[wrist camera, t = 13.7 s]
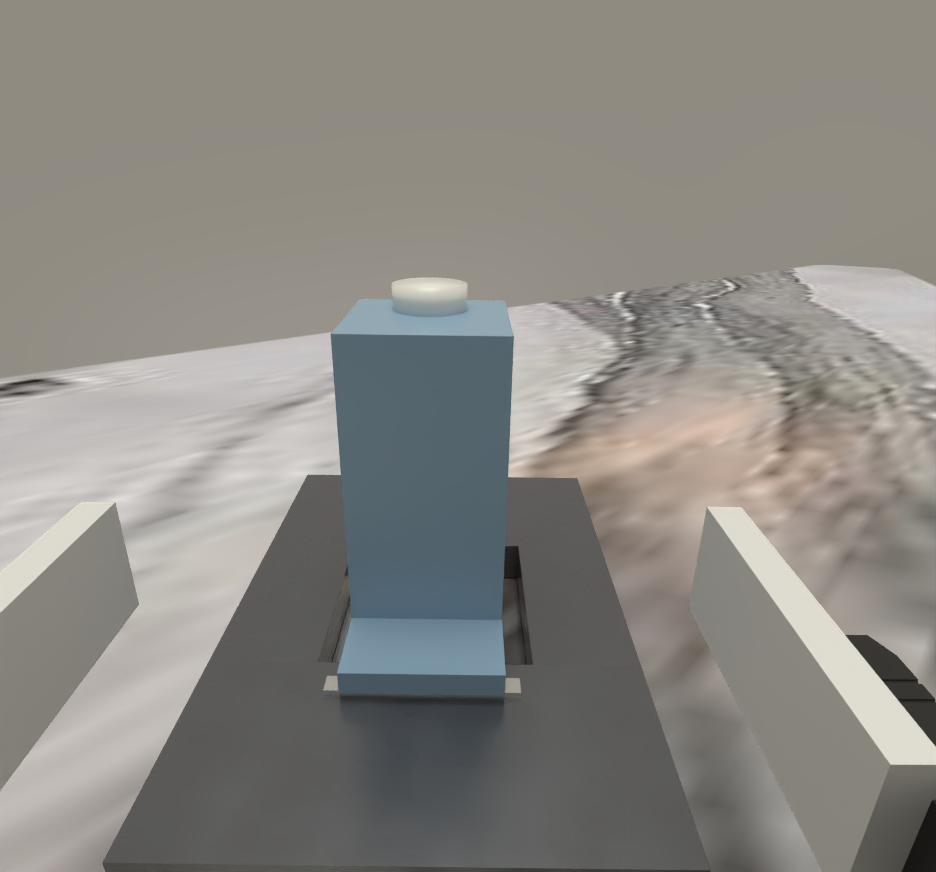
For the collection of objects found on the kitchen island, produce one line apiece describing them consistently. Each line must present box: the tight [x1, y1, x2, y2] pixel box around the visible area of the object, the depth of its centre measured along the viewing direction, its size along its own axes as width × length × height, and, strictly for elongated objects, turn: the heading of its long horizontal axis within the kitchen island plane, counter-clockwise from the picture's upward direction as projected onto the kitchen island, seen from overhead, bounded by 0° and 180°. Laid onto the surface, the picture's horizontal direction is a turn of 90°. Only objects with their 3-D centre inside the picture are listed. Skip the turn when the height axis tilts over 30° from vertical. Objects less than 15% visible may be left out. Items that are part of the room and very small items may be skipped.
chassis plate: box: [103, 475, 710, 872], centre depth 24 cm, size 20×14×2 cm
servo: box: [331, 278, 514, 696], centre depth 22 cm, size 10×5×13 cm, turn 0°
